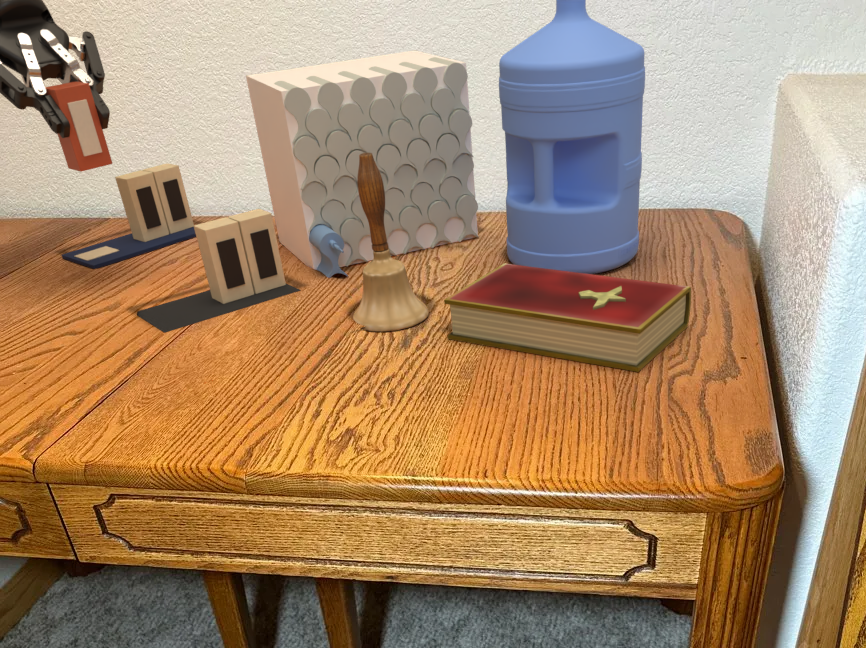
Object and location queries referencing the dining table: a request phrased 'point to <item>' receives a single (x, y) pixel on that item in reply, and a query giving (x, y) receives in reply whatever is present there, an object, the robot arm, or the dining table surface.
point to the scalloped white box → (367, 133)
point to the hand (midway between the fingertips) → (86, 127)
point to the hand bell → (383, 265)
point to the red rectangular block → (81, 127)
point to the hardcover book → (570, 315)
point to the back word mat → (144, 217)
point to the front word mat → (229, 271)
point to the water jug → (573, 144)
